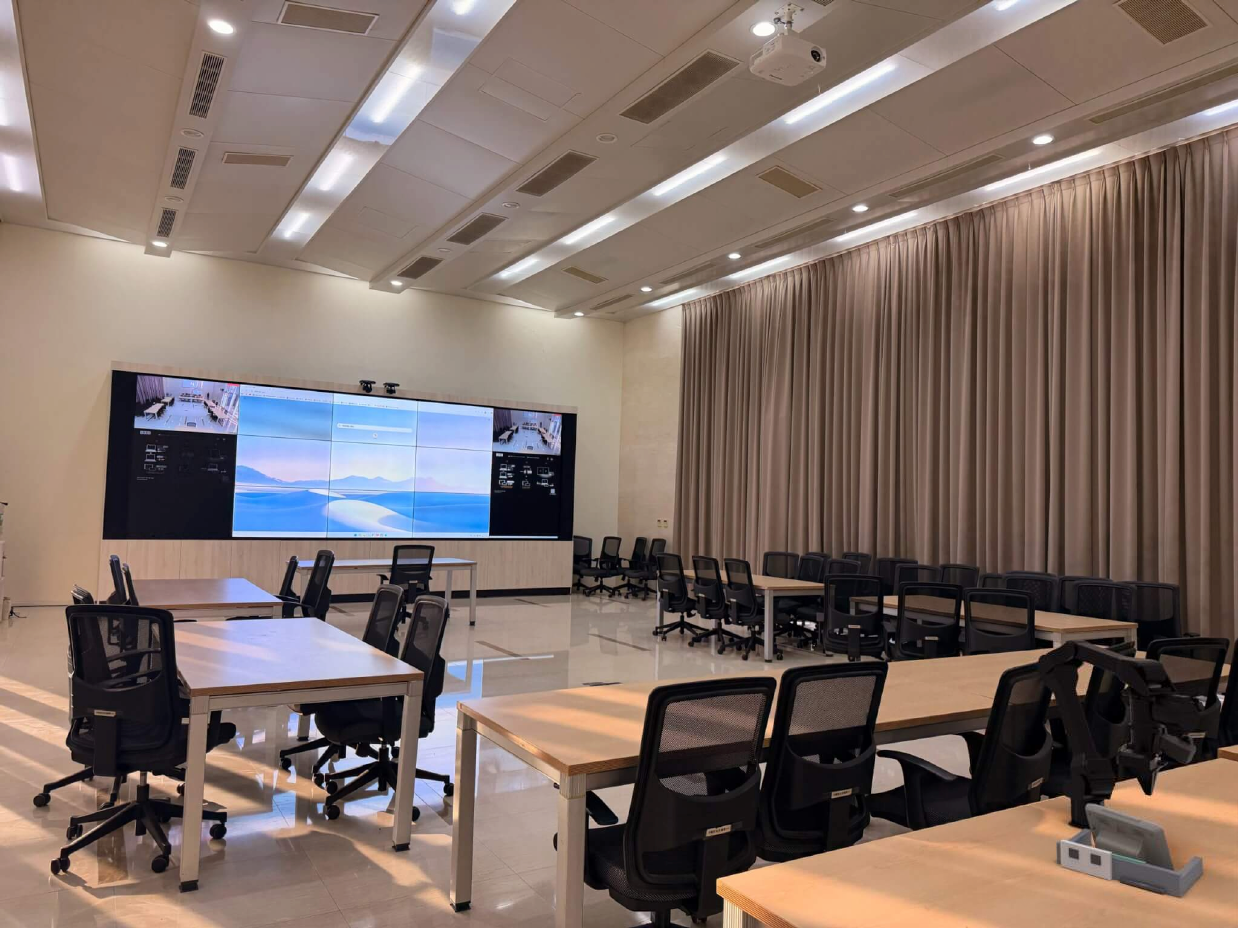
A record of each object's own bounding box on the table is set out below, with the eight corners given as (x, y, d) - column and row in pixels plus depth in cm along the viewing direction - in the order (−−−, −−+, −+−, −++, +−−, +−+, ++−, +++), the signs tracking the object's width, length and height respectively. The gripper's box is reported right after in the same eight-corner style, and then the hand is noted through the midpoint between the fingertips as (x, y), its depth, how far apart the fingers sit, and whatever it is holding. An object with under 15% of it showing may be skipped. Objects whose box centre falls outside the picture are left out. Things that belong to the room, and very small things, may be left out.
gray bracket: (1054, 864, 169) (1053, 839, 170) (1085, 842, 182) (1084, 818, 182) (1177, 899, 154) (1176, 871, 154) (1202, 872, 166) (1201, 846, 166)
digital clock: (1181, 881, 162) (1179, 824, 163) (1143, 885, 160) (1141, 828, 161) (1113, 849, 178) (1111, 798, 179) (1077, 853, 176) (1076, 801, 177)
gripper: (1176, 734, 166) (1179, 814, 165) (1203, 720, 178) (1206, 795, 177) (1114, 723, 174) (1116, 800, 173) (1144, 711, 187) (1146, 782, 186)
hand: (1148, 794), depth 177 cm, fingers closed
